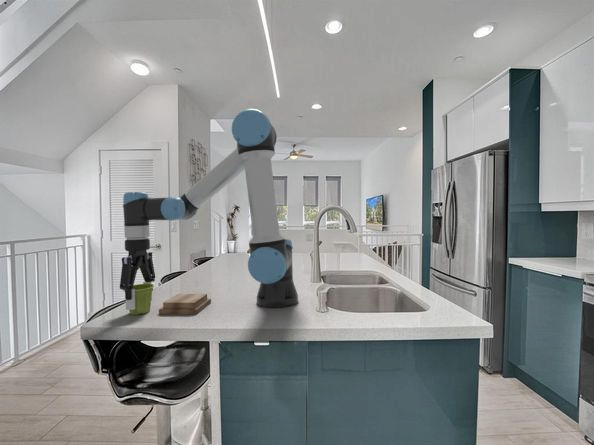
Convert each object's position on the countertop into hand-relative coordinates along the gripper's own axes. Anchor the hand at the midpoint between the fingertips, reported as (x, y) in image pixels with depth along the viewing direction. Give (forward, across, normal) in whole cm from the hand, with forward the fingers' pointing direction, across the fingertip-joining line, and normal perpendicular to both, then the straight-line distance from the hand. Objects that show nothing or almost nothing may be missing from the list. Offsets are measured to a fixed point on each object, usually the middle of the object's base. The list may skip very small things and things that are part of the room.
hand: (139, 304), depth 107 cm
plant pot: (+3, 0, 0) cm, 3 cm away
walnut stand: (+3, -5, +14) cm, 15 cm away
